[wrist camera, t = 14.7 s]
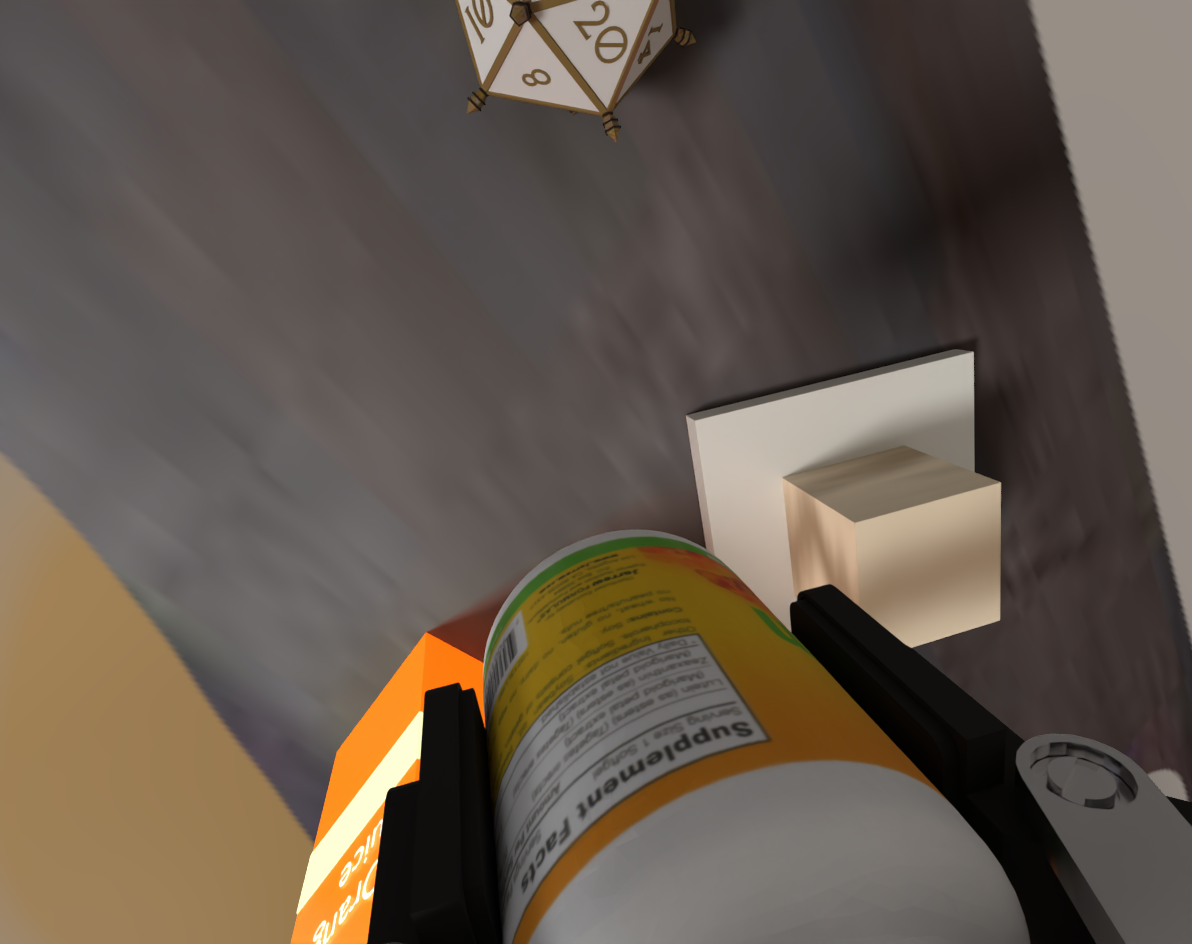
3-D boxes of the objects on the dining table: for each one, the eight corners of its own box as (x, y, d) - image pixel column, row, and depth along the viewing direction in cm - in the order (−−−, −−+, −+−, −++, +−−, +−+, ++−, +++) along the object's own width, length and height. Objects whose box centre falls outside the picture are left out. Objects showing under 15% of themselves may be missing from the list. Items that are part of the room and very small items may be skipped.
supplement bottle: (783, 682, 14) (1385, 1432, 5) (559, 807, 14) (767, 1840, 5) (687, 470, 12) (1376, 1057, 3) (426, 610, 12) (348, 1698, 3)
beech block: (781, 477, 31) (854, 523, 25) (904, 445, 32) (1000, 482, 26) (794, 596, 33) (864, 662, 27) (909, 562, 34) (999, 620, 28)
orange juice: (426, 629, 31) (386, 1178, 12) (574, 708, 34) (726, 1251, 15) (333, 754, 32) (161, 1448, 13) (485, 821, 35) (524, 1467, 16)
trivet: (685, 415, 30) (694, 420, 29) (955, 349, 32) (973, 351, 31) (724, 668, 35) (733, 681, 34) (959, 597, 37) (975, 607, 36)
